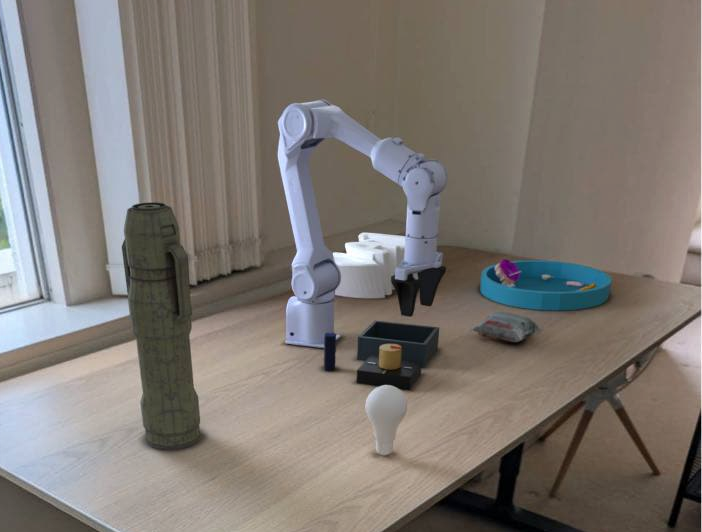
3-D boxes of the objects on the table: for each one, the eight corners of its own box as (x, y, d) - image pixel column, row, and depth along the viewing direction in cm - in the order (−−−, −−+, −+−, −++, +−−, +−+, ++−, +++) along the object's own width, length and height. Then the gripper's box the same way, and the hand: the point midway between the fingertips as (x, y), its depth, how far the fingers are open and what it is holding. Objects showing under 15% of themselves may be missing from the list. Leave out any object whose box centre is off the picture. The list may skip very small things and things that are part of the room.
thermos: (185, 457, 122) (162, 215, 104) (127, 440, 128) (94, 207, 109) (220, 435, 129) (203, 203, 110) (163, 420, 134) (138, 196, 116)
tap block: (356, 383, 147) (356, 369, 145) (369, 368, 153) (370, 354, 152) (409, 390, 144) (410, 376, 142) (421, 374, 150) (422, 360, 149)
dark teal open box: (357, 359, 157) (357, 336, 155) (373, 342, 166) (374, 320, 163) (424, 368, 153) (425, 344, 150) (437, 349, 161) (439, 327, 159)
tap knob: (375, 368, 146) (376, 347, 144) (382, 360, 149) (383, 340, 147) (397, 370, 145) (398, 350, 143) (403, 363, 148) (404, 343, 146)
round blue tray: (509, 270, 213) (512, 247, 210) (625, 286, 198) (629, 262, 195) (459, 297, 192) (461, 272, 189) (583, 318, 177) (588, 291, 174)
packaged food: (520, 350, 160) (523, 326, 158) (467, 338, 167) (470, 315, 164) (540, 339, 166) (543, 316, 163) (488, 328, 172) (491, 305, 170)
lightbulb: (360, 446, 125) (363, 379, 119) (399, 444, 125) (403, 377, 119) (367, 464, 120) (369, 395, 114) (407, 462, 120) (412, 393, 114)
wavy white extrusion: (365, 307, 186) (367, 260, 181) (307, 296, 195) (306, 251, 189) (434, 273, 211) (437, 231, 205) (379, 265, 219) (381, 224, 213)
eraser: (324, 366, 154) (324, 332, 151) (335, 367, 154) (336, 332, 150) (323, 371, 152) (323, 336, 149) (335, 371, 152) (335, 336, 149)
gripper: (422, 245, 137) (417, 324, 144) (460, 230, 147) (453, 304, 154) (386, 240, 140) (382, 317, 148) (425, 225, 150) (420, 298, 158)
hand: (416, 310), depth 151 cm, fingers open, 7 cm apart
